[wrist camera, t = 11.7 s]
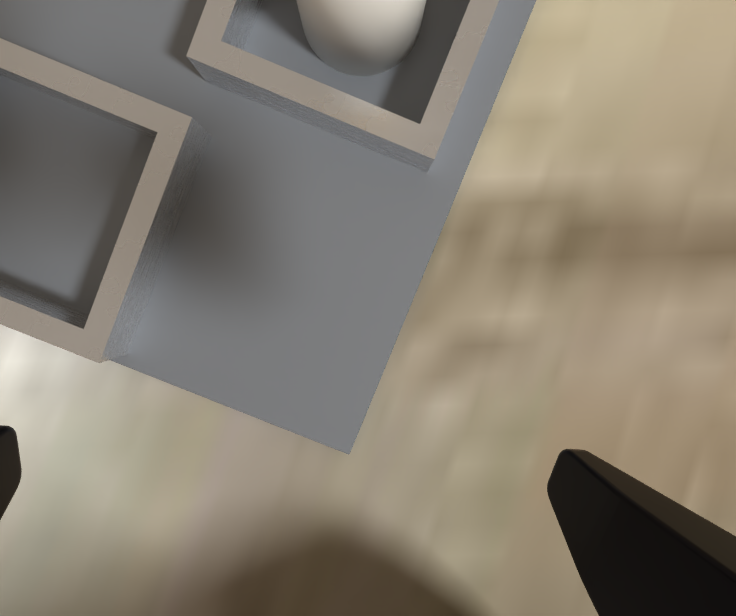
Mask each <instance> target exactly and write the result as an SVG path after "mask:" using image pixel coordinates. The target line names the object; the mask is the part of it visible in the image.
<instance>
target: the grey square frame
mask: <svg viewBox="0 0 736 616" xmlns="http://www.w3.org/2000/svg"><path fill="white" fill-rule="evenodd" d="M0 75H1V76H4V77H6V78H9V79H11V80H13V81H16V82H18V83H21V84H23V85H26V86H28V87H30V88H33V89H35V90H38V91H40V92H43V93H45V94H47V95H50V96H52V97H55V98H57V99H60V100H62V101H65V102H67V103H69V104H72V105H74V106H77V107H79V108H82V109H84V110H86V111H89V112H91V113H94V114H96V115H99V116H101V117H103V118H106V119H108V120H111V121H113V122H116V123H118V124H121V125H123V126H125V127H128V128H130V129H133V130H135V131H138V132H140V133H142V134H145V135H147V136H150V137H152V138H155V140H154V143H153V146H152V148H151V151H150V154H149V156H148V159H147V162H146V164H145V167H144V170H143V172H142V175H141V178H140V180H139V183H138V186H137V188H136V191H135V194H134V196H133V199H132V202H131V204H130V207H129V210H128V212H127V215H126V218H125V220H124V223H123V226H122V228H121V231H120V234H119V236H118V239H117V242H116V244H115V247H114V250H113V252H112V255H111V258H110V260H109V263H108V266H107V268H106V271H105V274H104V276H103V279H102V282H101V284H100V287H99V290H98V292H97V295H96V298H95V300H94V303H93V306H92V308H91V311H90V314H86V313H84V312H81V311H79V310H76V309H73V308H71V307H68V306H66V305H63V304H61V303H58V302H56V301H53V300H51V299H48V298H46V297H43V296H41V295H38V294H36V293H33V292H31V291H28V290H26V289H23V288H21V287H18V286H16V285H13V284H11V283H8V282H6V281H3V280H1V279H0V324H2V325H4V326H7V327H9V328H12V329H14V330H17V331H19V332H22V333H24V334H27V335H30V336H32V337H35V338H37V339H40V340H42V341H45V342H47V343H50V344H52V345H55V346H57V347H60V348H62V349H65V350H67V351H70V352H73V353H75V354H78V355H80V356H83V357H85V358H88V359H90V360H93V361H95V362H98V363H101V362H104V361H108V360H111V359H115V358H118V357H121V356H125V355H128V352H129V350H130V347H131V345H132V342H133V339H134V337H135V334H136V331H137V329H138V326H139V324H140V321H141V318H142V316H143V313H144V310H145V308H146V305H147V303H148V300H149V297H150V295H151V292H152V289H153V287H154V284H155V282H156V279H157V276H158V274H159V271H160V268H161V266H162V263H163V261H164V258H165V255H166V253H167V250H168V248H169V245H170V242H171V240H172V237H173V234H174V232H175V229H176V227H177V224H178V221H179V219H180V216H181V213H182V211H183V208H184V206H185V203H186V200H187V198H188V195H189V192H190V190H191V187H192V185H193V182H194V179H195V177H196V174H197V171H198V169H199V166H200V164H201V161H202V158H203V156H204V153H205V150H206V148H207V145H208V143H209V140H210V137H211V135H210V134H209V133H208V132H207V131H206V130H205V129H204V128H203V127H202V126H200V125H199V124H198V123H197V122H196V121H195V120H194V119H193V118H192V117H190V116H188V115H185V114H183V113H180V112H178V111H175V110H173V109H171V108H168V107H166V106H163V105H161V104H159V103H156V102H154V101H151V100H149V99H146V98H144V97H142V96H139V95H137V94H134V93H132V92H129V91H127V90H125V89H122V88H120V87H117V86H115V85H113V84H110V83H108V82H105V81H103V80H100V79H98V78H96V77H93V76H91V75H88V74H86V73H83V72H81V71H79V70H76V69H74V68H71V67H69V66H66V65H64V64H62V63H59V62H57V61H54V60H52V59H50V58H47V57H45V56H42V55H40V54H37V53H35V52H33V51H30V50H28V49H25V48H23V47H20V46H18V45H16V44H13V43H11V42H8V41H6V40H4V39H1V38H0Z"/></svg>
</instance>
